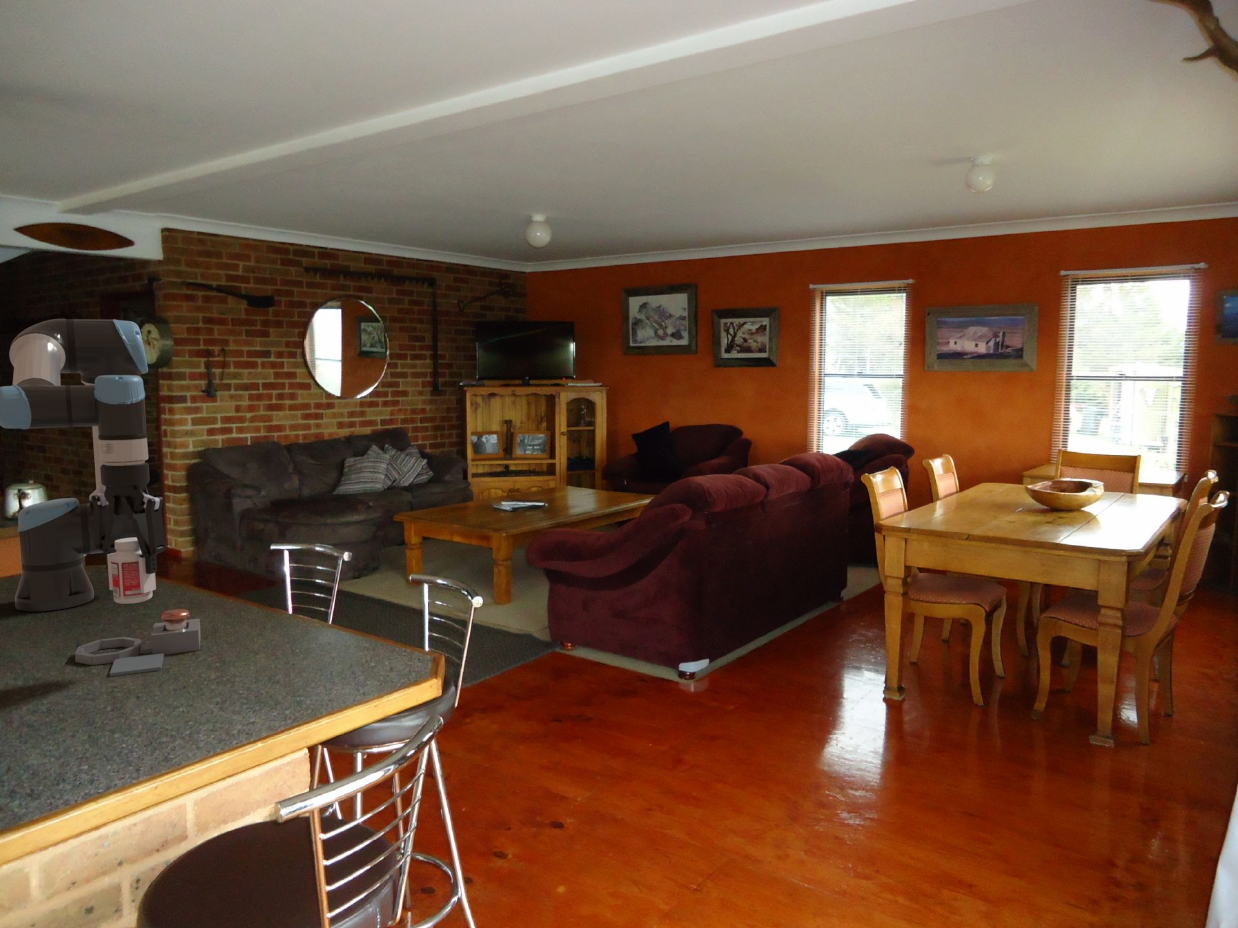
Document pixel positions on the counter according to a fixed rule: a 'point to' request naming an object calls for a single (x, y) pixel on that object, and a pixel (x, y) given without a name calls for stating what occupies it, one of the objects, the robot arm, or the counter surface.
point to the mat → (137, 664)
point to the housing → (160, 644)
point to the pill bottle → (127, 572)
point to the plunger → (175, 619)
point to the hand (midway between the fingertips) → (132, 589)
